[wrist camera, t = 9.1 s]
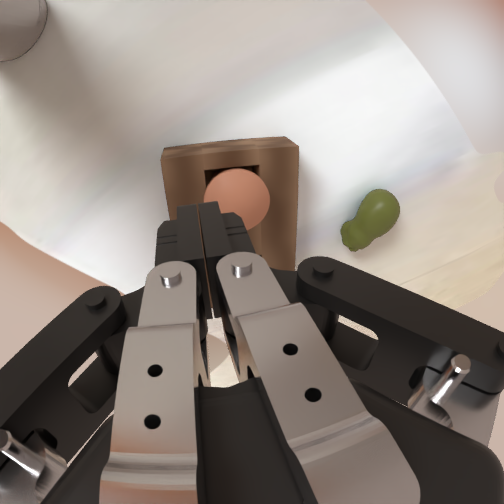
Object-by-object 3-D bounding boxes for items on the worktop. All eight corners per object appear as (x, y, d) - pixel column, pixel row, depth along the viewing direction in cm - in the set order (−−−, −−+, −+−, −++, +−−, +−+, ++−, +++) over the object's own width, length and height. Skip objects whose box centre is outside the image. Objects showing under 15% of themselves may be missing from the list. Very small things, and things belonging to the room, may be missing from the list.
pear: (413, 214, 38) (366, 264, 43) (396, 193, 42) (354, 240, 47) (389, 196, 35) (339, 251, 41) (372, 175, 39) (328, 227, 44)
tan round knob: (204, 212, 36) (207, 236, 31) (199, 159, 32) (200, 175, 28) (259, 206, 37) (270, 228, 32) (257, 153, 33) (269, 168, 29)
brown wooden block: (187, 287, 44) (188, 311, 40) (164, 147, 33) (160, 159, 29) (283, 273, 46) (293, 295, 42) (285, 136, 35) (298, 146, 31)
